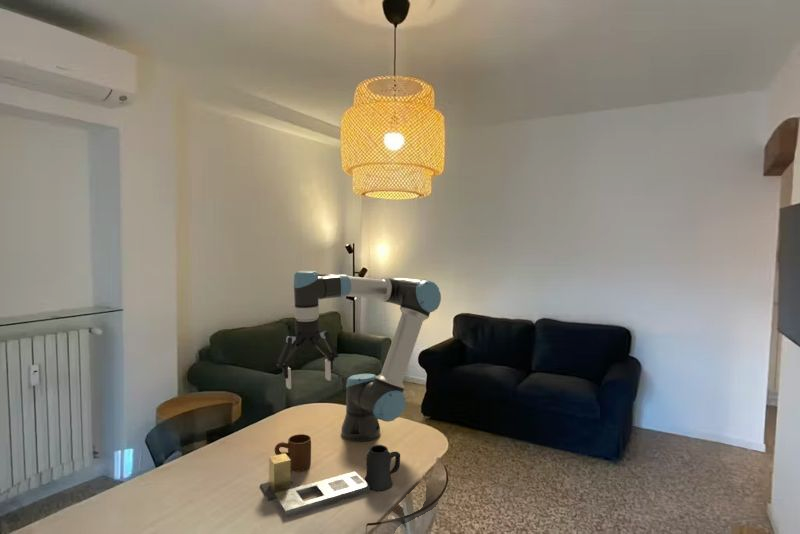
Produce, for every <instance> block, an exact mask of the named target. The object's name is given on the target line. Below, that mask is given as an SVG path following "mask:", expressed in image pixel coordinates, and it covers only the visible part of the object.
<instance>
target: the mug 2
mask: <svg viewBox="0 0 800 534" xmlns="http://www.w3.org/2000/svg"><path fill="white" fill-rule="evenodd" d="M393 458H394V460H395V461H394V466H393V467H392V468H391V464H392V463H391V462H392V459H393ZM365 462H366V463H365V464H366V466H365V467H366V474H365V476H364V479H363V480H364V481H365V482H367V483H368V484H369V485H370V492H377V493H379V492H386V491H387V490H390V489H391V488H392V487H393V479H392V475H393V474H395V473H397V472H398V470H399V469H400V466H401V454H400V453H399V452H398V451H391V452H390V451H389V450H388V447H387V446H386V445H382V444H375V445H371V446H370V447H369V450H368V451H367V454H366V461H365Z"/></svg>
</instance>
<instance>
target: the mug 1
mask: <svg viewBox="0 0 800 534" xmlns="http://www.w3.org/2000/svg"><path fill="white" fill-rule="evenodd" d="M281 448H284V449H285V448H286V449H287V452H286V451H281V450H280V449H281ZM284 453H285V454H286V455H287V456H288V457H289V459H290V460H291V471H295V472H301V471H305V470H307V469H308V468H310V467H311V465H312V464H311V463H312V438H311V436H310V435H308V434H303V433H302V434H301V433H300V434H294V435H291V436H290V437H289V438H288V440H287V442H284V441H280V442H277V444H275V447H274V454H275V455H280V454H284Z"/></svg>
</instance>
